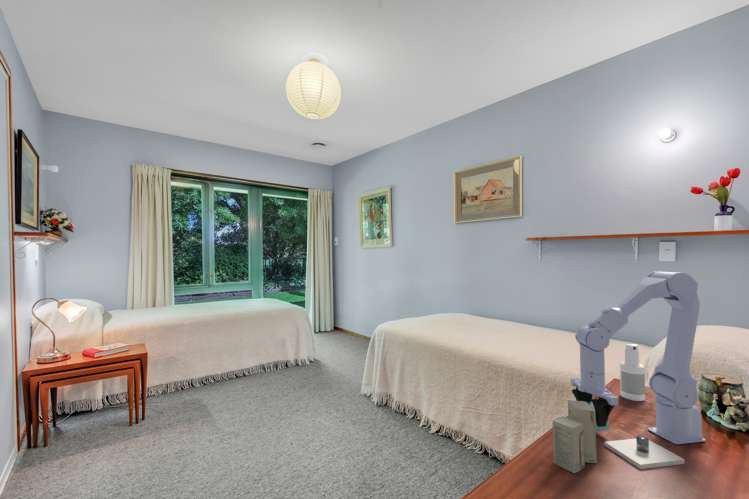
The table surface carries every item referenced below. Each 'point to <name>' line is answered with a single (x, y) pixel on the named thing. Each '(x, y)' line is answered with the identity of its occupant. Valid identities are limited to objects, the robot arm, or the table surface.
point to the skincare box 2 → (585, 427)
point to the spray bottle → (632, 375)
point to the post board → (644, 453)
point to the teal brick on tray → (596, 422)
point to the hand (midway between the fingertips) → (593, 421)
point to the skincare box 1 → (568, 444)
